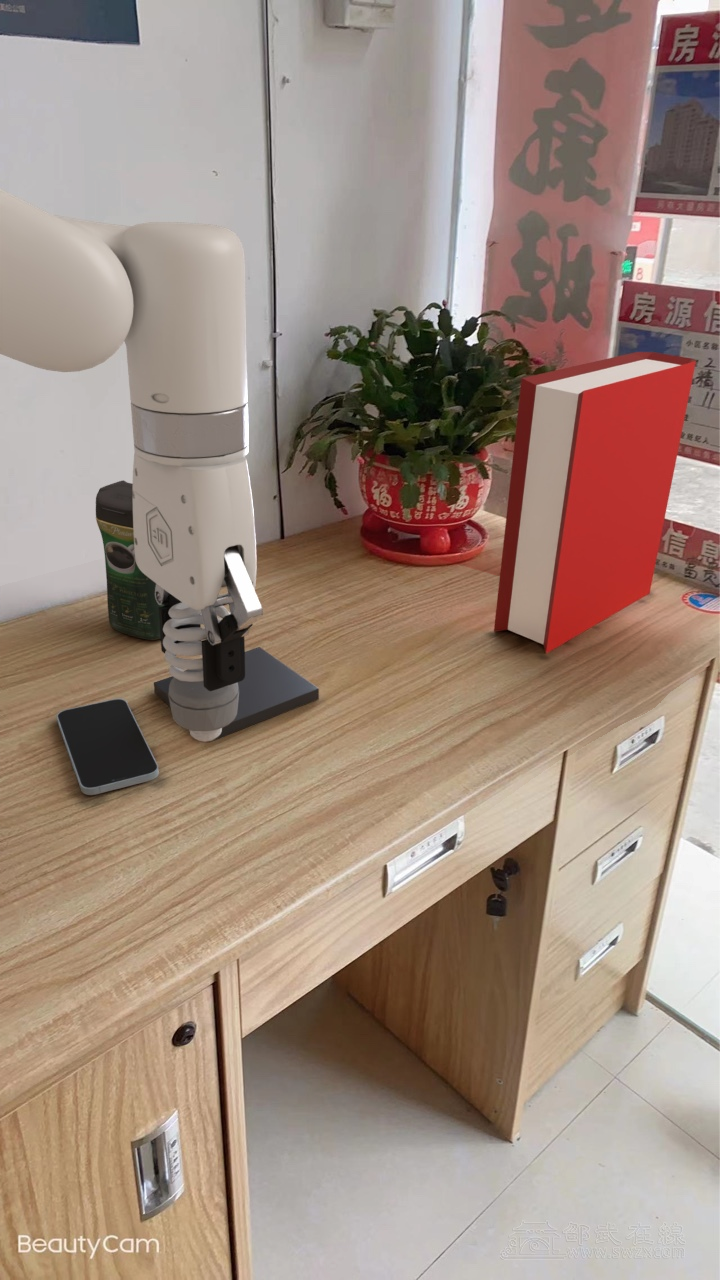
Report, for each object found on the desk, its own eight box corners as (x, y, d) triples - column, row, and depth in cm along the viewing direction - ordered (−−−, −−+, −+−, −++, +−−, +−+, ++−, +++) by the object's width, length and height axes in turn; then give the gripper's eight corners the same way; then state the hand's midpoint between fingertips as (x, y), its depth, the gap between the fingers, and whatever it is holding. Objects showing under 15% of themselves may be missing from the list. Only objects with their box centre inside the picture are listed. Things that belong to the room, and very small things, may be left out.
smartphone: (124, 696, 96) (161, 771, 84) (125, 703, 96) (162, 778, 85) (54, 711, 93) (82, 791, 81) (55, 719, 93) (83, 799, 82)
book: (545, 653, 109) (583, 390, 94) (493, 631, 114) (521, 378, 99) (654, 590, 126) (701, 359, 111) (605, 573, 131) (643, 350, 116)
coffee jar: (198, 623, 114) (189, 484, 105) (157, 648, 108) (143, 503, 99) (141, 605, 118) (127, 470, 109) (98, 629, 112) (80, 487, 103)
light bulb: (247, 723, 72) (244, 590, 67) (235, 763, 67) (231, 623, 62) (179, 719, 72) (170, 585, 67) (162, 758, 68) (151, 618, 62)
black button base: (208, 742, 90) (207, 718, 89) (154, 693, 98) (151, 670, 97) (319, 699, 98) (319, 675, 97) (259, 656, 106) (259, 634, 105)
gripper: (83, 408, 62) (107, 635, 70) (206, 471, 50) (217, 735, 59) (179, 397, 66) (190, 612, 75) (313, 452, 55) (309, 701, 63)
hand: (202, 664), depth 67 cm, fingers closed on light bulb, 5 cm apart
